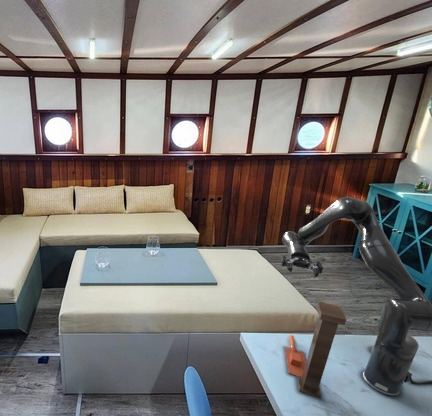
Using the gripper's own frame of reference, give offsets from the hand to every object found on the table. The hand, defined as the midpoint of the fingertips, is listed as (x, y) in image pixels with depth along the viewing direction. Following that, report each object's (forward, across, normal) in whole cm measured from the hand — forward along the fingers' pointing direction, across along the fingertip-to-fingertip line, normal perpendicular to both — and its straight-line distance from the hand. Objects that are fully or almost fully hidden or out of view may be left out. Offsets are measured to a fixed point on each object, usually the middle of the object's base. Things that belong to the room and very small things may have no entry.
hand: (303, 272), depth 114 cm
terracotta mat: (+19, +1, +28) cm, 34 cm away
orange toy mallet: (+13, 0, +28) cm, 31 cm away
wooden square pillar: (+29, +3, +28) cm, 40 cm away
